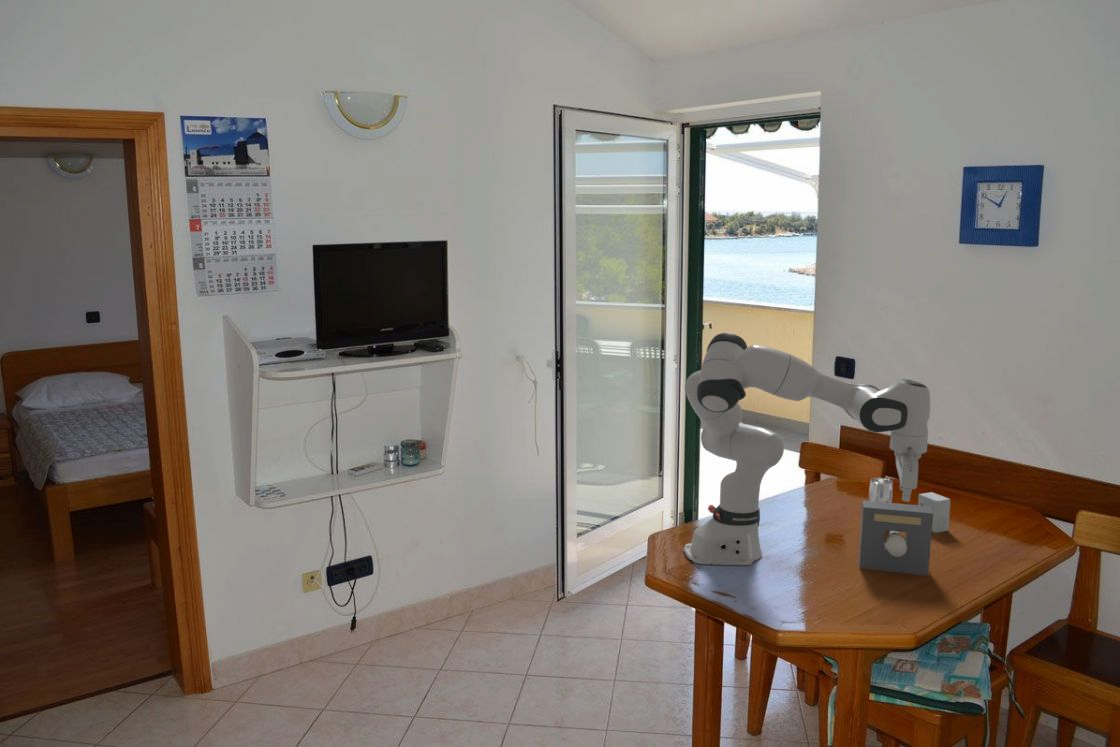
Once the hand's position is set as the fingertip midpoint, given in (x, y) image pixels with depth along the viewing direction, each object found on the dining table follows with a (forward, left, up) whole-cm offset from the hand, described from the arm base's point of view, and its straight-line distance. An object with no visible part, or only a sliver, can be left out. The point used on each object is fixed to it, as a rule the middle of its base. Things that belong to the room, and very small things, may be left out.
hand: (904, 495), depth 229 cm
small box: (+35, +44, -27) cm, 63 cm away
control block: (+7, +16, -27) cm, 33 cm away
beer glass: (+19, +48, -27) cm, 59 cm away
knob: (+6, +14, -21) cm, 26 cm away
